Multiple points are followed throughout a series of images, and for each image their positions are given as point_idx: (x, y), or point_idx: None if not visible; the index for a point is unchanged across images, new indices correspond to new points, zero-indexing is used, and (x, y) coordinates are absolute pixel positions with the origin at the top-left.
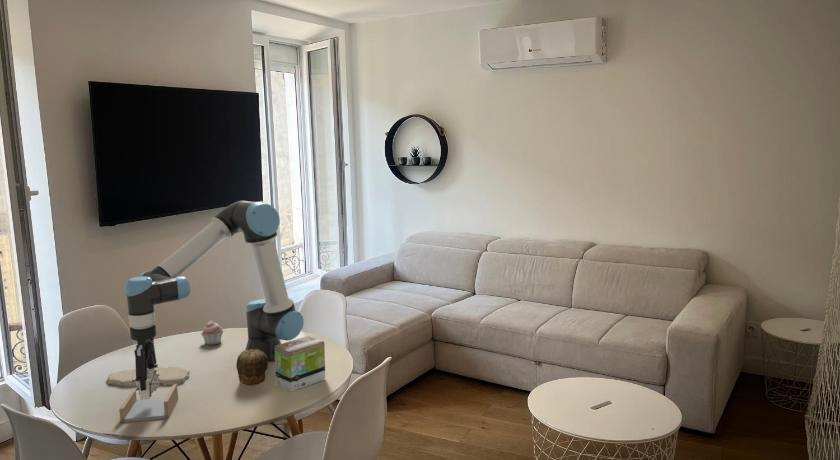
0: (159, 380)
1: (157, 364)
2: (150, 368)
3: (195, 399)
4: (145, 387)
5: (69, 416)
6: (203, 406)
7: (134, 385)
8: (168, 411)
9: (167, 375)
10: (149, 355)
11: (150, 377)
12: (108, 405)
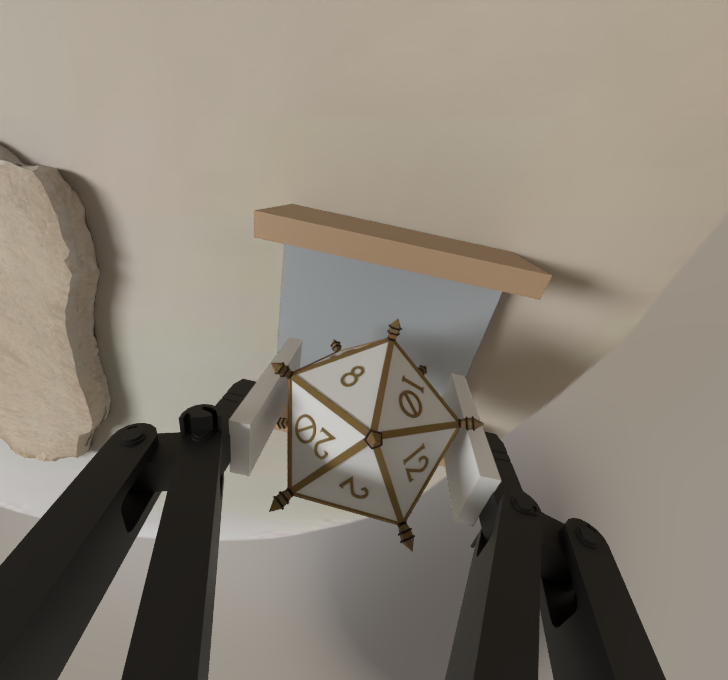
0: (354, 353)
1: (179, 418)
2: (228, 450)
3: (320, 92)
4: (495, 447)
5: (320, 524)
6: (458, 26)
7: (104, 383)
8: (524, 259)
9: (3, 261)
10: (202, 651)
11: (418, 448)
12: (271, 450)
